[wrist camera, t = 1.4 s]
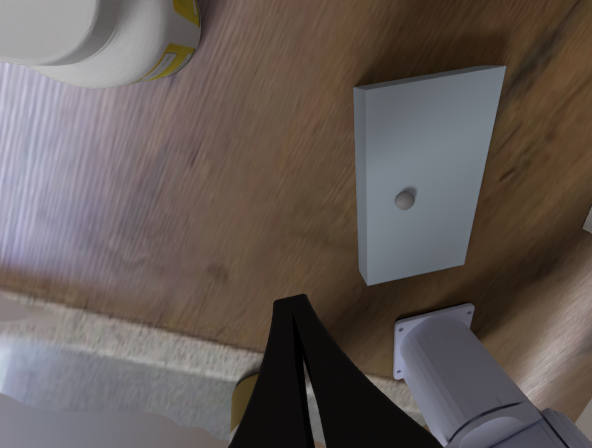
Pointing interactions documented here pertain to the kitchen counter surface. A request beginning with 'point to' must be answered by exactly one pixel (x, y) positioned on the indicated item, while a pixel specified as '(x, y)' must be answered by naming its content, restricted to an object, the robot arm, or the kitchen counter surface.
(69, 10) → the supplement bottle
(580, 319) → the kitchen counter surface
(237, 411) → the paper tube
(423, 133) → the door
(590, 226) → the side panel
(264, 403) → the robot arm
